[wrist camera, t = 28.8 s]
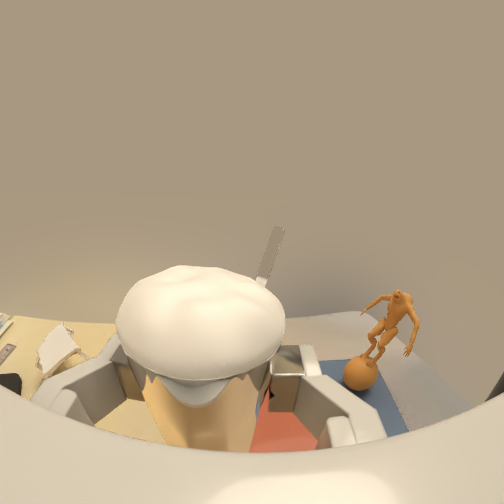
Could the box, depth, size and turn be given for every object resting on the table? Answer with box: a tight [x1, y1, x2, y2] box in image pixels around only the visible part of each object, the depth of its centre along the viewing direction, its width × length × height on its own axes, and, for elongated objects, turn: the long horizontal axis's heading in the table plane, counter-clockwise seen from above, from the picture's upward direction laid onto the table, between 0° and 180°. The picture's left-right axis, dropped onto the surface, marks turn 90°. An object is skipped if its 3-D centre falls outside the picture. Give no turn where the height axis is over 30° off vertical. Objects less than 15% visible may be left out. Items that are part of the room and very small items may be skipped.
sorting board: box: [249, 357, 409, 453], centre depth 24 cm, size 19×14×1 cm
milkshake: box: [116, 226, 285, 452], centre depth 8 cm, size 5×5×10 cm
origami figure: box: [36, 322, 91, 380], centre depth 25 cm, size 12×8×5 cm
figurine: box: [343, 290, 419, 391], centre depth 25 cm, size 8×6×12 cm
